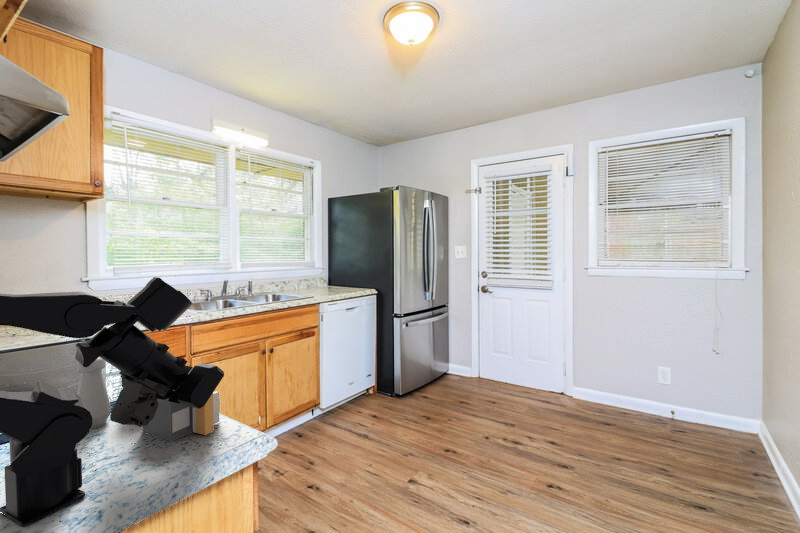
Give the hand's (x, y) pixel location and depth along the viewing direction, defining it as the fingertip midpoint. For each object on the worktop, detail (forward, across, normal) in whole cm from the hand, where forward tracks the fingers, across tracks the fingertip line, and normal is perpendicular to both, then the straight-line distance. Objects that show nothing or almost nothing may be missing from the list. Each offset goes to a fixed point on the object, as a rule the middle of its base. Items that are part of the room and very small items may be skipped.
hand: (204, 402), depth 68 cm
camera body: (+5, -8, -4) cm, 11 cm away
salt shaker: (0, -24, -9) cm, 26 cm away
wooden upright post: (+6, -2, -2) cm, 7 cm away
